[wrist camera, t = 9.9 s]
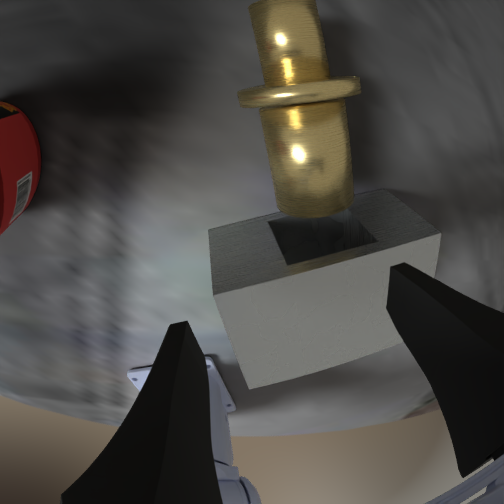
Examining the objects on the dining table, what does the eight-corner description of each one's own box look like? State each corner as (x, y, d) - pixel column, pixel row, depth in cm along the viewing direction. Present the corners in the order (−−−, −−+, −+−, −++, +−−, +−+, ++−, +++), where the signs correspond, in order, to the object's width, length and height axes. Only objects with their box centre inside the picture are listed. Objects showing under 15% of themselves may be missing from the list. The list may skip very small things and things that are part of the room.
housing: (381, 280, 24) (421, 334, 18) (236, 320, 24) (249, 389, 18) (384, 188, 20) (441, 232, 14) (208, 230, 19) (213, 295, 14)
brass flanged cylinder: (343, 173, 18) (389, 210, 13) (253, 192, 18) (274, 238, 13) (318, 11, 13) (366, -12, 8) (216, 23, 13) (223, -5, 8)
